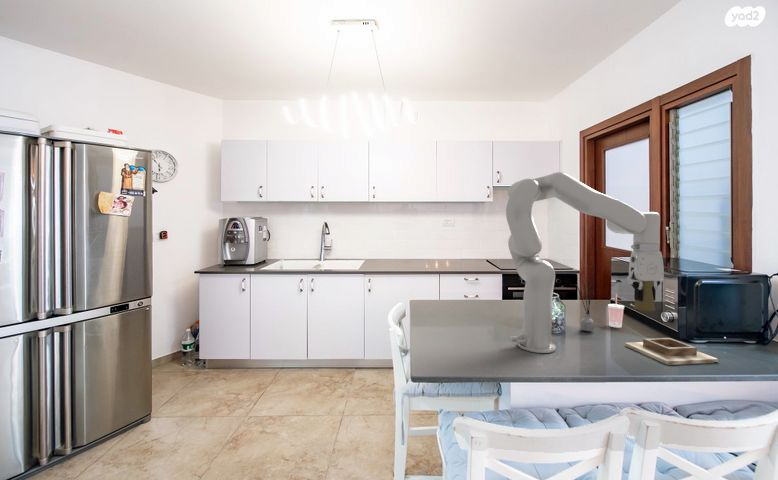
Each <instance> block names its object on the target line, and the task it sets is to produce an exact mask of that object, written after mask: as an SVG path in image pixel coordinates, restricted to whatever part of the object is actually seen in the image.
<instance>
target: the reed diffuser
mask: <svg viewBox="0 0 778 480" xmlns="http://www.w3.org/2000/svg"><path fill="white" fill-rule="evenodd" d="M587 284H588V285H587V286H588V292H589V299H588V298H587V289H586V282H585V281H584V285H583V286H584V292H585V294H584V295H585V302H586V305H585V302H584V301H583V300H584V299H583V297H582V294H581V292H580V287H579V285H578V284H576V286H577V290H578V293H579V295H580V298H581V301H582V304H583V307H584V310H585V313H584V317H582V318H581V320H580V330H582V331H585V332H593V331H594V330H595V322H594V320H593V319H592V318H591V313H590V304H591V297H592V296H591V295H592V288H593V286H592V285H591V286H590V283H587ZM587 299H588V300H587Z"/></svg>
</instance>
